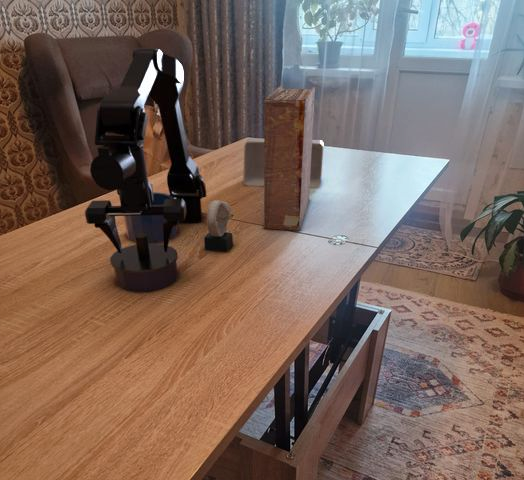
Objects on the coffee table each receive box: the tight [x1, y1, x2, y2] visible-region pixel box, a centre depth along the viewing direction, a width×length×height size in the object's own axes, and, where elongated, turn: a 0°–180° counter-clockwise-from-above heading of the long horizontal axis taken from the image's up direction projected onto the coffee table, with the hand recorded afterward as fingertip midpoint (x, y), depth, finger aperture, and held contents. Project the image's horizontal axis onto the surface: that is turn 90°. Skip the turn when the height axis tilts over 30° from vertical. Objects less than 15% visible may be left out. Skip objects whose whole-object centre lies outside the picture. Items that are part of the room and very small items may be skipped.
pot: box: [122, 191, 179, 244], centre depth 120 cm, size 13×13×8 cm
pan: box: [113, 260, 178, 293], centre depth 101 cm, size 13×13×4 cm
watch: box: [203, 199, 234, 253], centre depth 112 cm, size 6×8×11 cm
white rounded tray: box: [242, 137, 325, 189], centre depth 157 cm, size 25×16×12 cm, turn 83°
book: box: [263, 85, 316, 232], centre depth 125 cm, size 25×9×30 cm, turn 170°
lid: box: [109, 233, 179, 273], centre depth 98 cm, size 14×14×6 cm
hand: (143, 251), depth 99 cm, fingers open, 9 cm apart
